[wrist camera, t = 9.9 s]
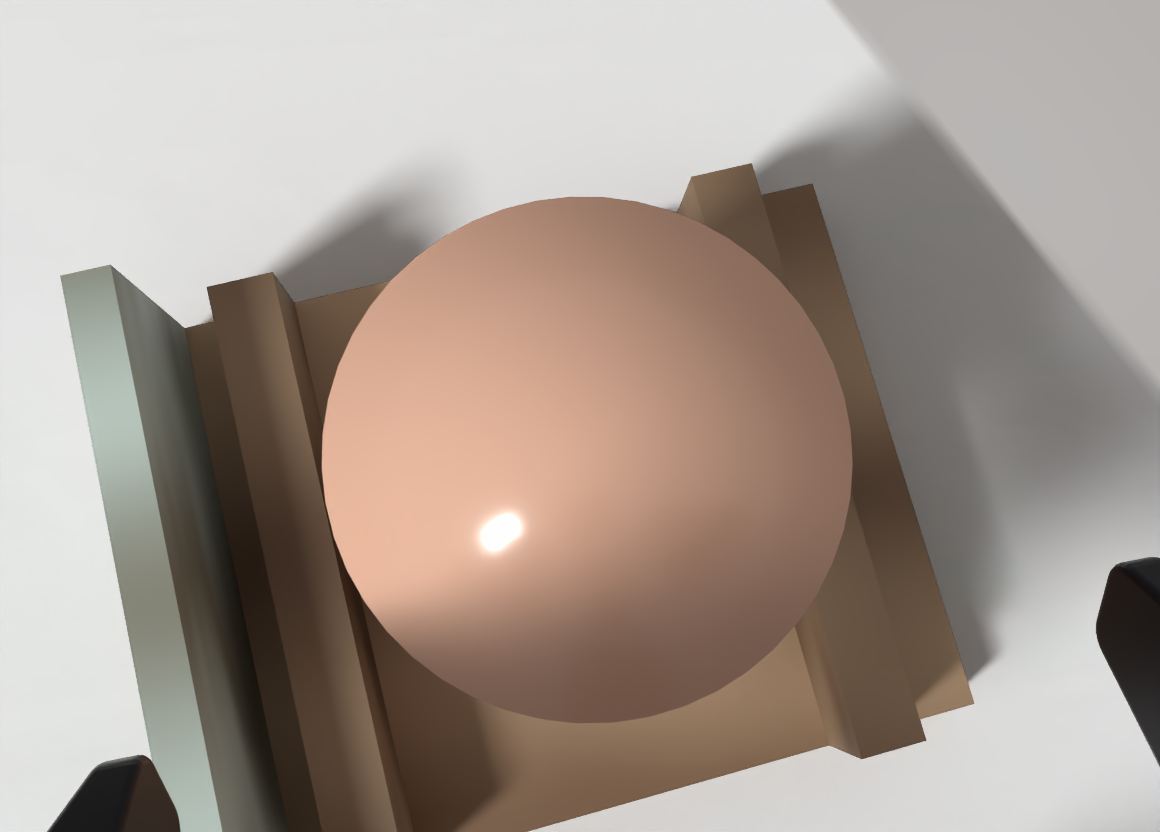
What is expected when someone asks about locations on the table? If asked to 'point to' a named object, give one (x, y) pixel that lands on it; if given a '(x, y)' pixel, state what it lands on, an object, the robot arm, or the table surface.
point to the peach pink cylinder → (587, 460)
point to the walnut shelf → (359, 641)
